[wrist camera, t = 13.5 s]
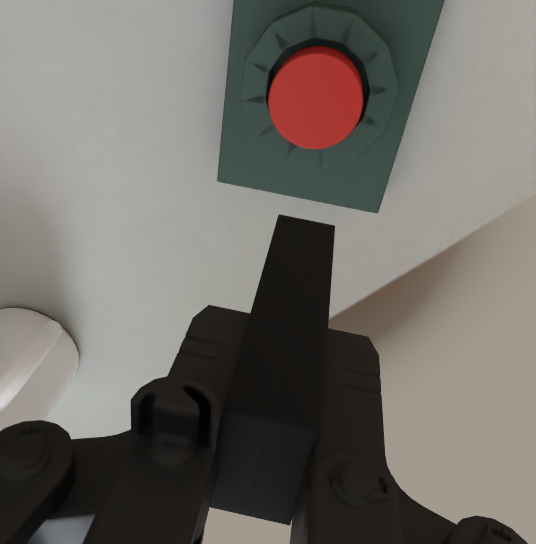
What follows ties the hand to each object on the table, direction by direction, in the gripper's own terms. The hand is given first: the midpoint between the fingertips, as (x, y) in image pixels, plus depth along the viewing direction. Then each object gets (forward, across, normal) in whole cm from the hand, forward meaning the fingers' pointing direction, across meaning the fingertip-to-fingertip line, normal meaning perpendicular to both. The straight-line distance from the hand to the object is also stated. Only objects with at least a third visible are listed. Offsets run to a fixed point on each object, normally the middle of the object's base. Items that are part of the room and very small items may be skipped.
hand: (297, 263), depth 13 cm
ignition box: (+15, 0, +2) cm, 15 cm away
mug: (+16, -18, -21) cm, 32 cm away
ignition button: (+12, 0, +2) cm, 12 cm away
